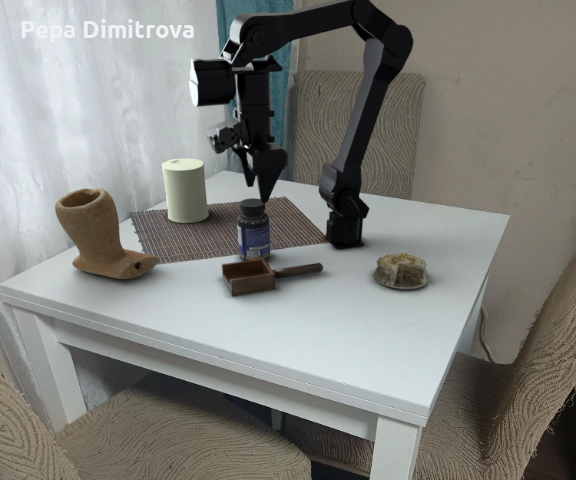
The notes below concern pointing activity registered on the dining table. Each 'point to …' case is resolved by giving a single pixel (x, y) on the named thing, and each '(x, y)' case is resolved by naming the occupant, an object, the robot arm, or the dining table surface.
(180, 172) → the can
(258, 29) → the robot arm
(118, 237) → the clay pipe bowl
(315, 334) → the dining table surface
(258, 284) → the scoop
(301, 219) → the dining table surface
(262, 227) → the pill bottle
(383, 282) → the cake
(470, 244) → the dining table surface
